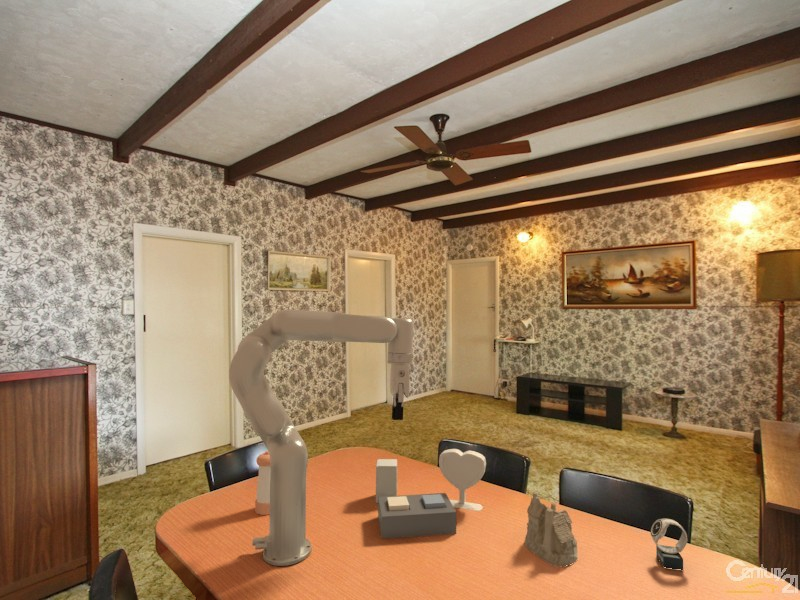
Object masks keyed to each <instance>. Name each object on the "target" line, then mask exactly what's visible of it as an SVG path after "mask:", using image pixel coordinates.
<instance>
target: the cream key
mask: <svg viewBox="0 0 800 600" xmlns="http://www.w3.org/2000/svg"><path fill="white" fill-rule="evenodd" d="M399 496H400V497H387V508H388V511H398V510H409V503H408V500H407V497H406V496H402V495H399Z"/></svg>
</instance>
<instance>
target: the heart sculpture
mask: <svg viewBox="0 0 800 600" xmlns="http://www.w3.org/2000/svg"><path fill="white" fill-rule="evenodd" d="M438 464H439V470H440V472H441V474H442V476H443V478H445V479H446V480H447V481H448V482H449V483H450V484H451V485H452V486H454V487H455V488H456V489H457V490H459V491H458V492H459V498H458V499H459V500H455V499H449V500H450V502H451V504H452V505H453V507H454V508H457V509H464V510H470V511H475V512H480V511H482V510H483V508H484V507H483V506H482V505H481V504H480V503H473V502H468V501H466V490H467V489H470V488H472V487H474V486H475V485H476V484H478V483H479V482H480V481H481V480H482V478H483V476H484V474H485V472H486V468H487V467H486V466H487V460H486V456H484V455H483V454H482V453H480V452H477V451H474V450H469V449H468V450H466V451H464V452H463V451H462V450H460V449H458V448H450V449H445V450H443V451H442V452H441V453H440V455H439V458H438Z"/></svg>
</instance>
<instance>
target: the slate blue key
mask: <svg viewBox="0 0 800 600" xmlns="http://www.w3.org/2000/svg"><path fill="white" fill-rule="evenodd" d="M433 494H434V495H422V504H423V506H424V509H430V508H445V502H444V500H443V498H442V496H441V494H436V493H433Z"/></svg>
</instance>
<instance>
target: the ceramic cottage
mask: <svg viewBox="0 0 800 600" xmlns="http://www.w3.org/2000/svg"><path fill="white" fill-rule="evenodd" d="M526 513H527V516H528V522H527V523H526V530H527V531H526V535H525V536H524V537H525V538H524V544H525V546H526V548H527V549H528V550H529V551H530V552H531V553H533V554H535V555H536V556H537V557H538V558H540V559H541V560H543V561H545V562H546V563H547V564H549V565H551V564H552V566H554V565H555V567H560V566H562V567H563V566H566V565H570V564H572V563H574V562H575V561H576V560H577V559H578V560H579V556H578V555H577V554H578V542H577V540H576V538H575V536H574V534H573V532H572V529H573V528H572V523H573V520H572V519H571V517H570V514H569V512H567V510H566V509H562V510H558V511H557V508H556V503H555V502H552V503H551V504H550V507H549V506H547V505H546V504H545V503H543V502H541V500H540V497H539V496H538V492H536V491H533V492H532V497H531V500H530V503H529V506H528V507H527V511H526ZM577 556H578V557H577ZM578 560H577V561H578ZM577 561H576V562H577ZM576 562H575V563H576ZM575 563H574V564H575ZM572 565H573V564H572ZM570 566H571V565H570ZM566 567H567V566H566Z"/></svg>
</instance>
